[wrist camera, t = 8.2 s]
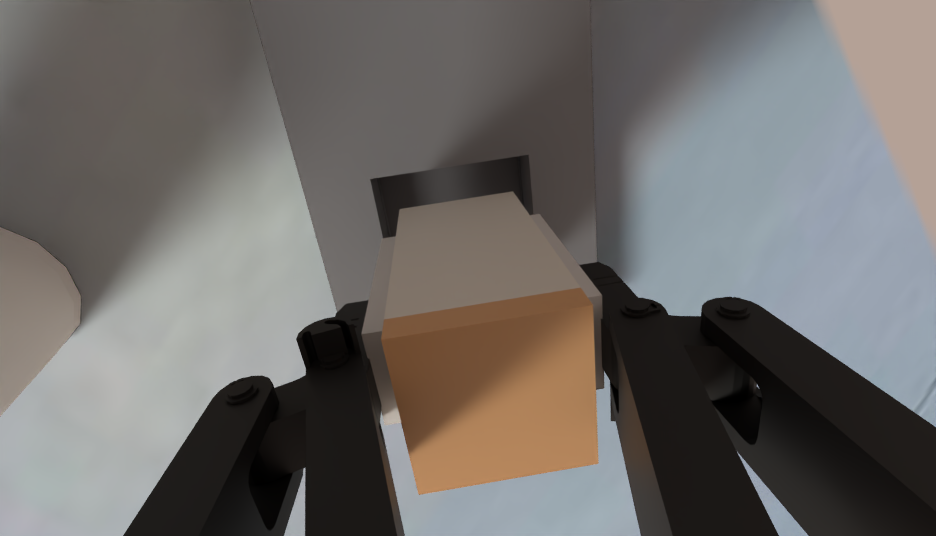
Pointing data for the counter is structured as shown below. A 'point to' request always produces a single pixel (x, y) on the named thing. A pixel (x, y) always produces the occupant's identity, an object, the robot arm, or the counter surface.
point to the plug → (487, 346)
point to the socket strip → (432, 115)
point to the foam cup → (31, 312)
